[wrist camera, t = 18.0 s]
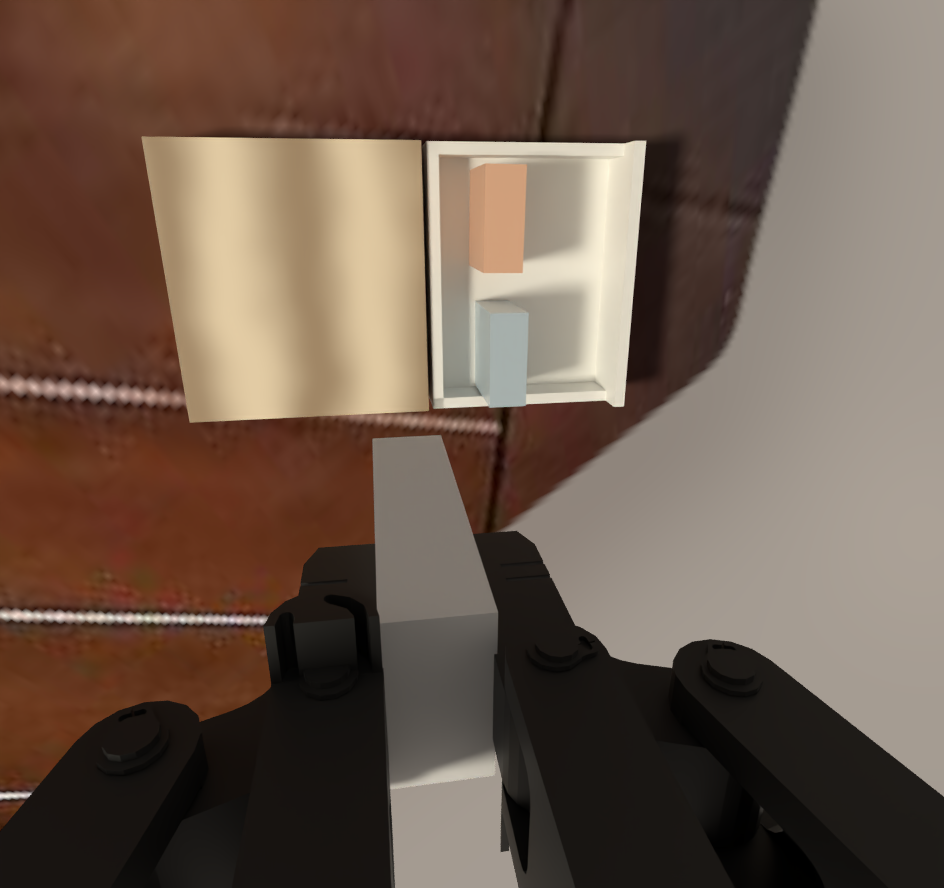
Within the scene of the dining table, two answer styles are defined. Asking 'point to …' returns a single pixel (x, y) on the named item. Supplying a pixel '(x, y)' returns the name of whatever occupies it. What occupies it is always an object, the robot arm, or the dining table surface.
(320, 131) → the dining table surface
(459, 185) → the tray
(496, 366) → the tile slate
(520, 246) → the tile terracotta
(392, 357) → the beige flat block
